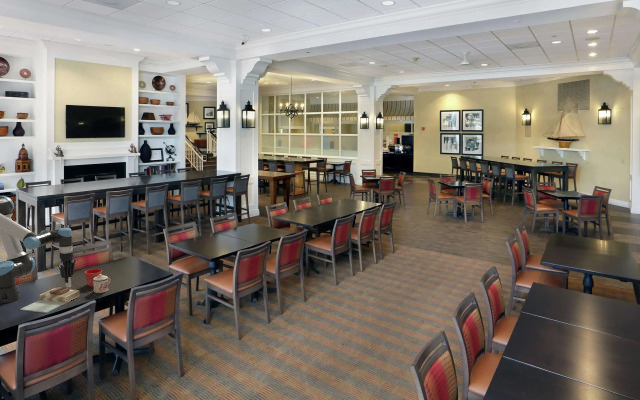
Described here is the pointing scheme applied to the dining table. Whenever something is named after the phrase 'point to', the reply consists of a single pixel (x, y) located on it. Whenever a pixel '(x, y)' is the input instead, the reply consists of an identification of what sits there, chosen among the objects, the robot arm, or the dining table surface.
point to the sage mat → (43, 306)
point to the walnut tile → (59, 291)
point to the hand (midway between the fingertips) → (68, 286)
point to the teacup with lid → (101, 283)
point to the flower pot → (92, 275)
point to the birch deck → (60, 296)
